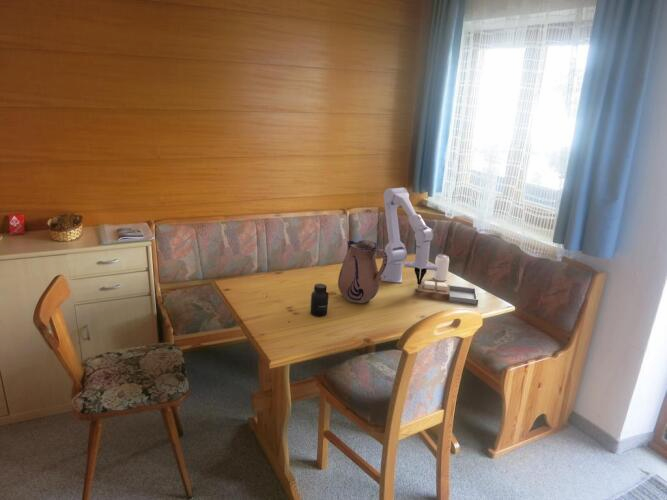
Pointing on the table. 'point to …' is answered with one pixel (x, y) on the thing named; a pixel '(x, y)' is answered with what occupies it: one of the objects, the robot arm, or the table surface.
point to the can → (441, 267)
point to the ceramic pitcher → (361, 272)
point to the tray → (463, 295)
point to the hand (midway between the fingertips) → (419, 283)
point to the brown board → (433, 292)
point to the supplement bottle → (319, 301)
